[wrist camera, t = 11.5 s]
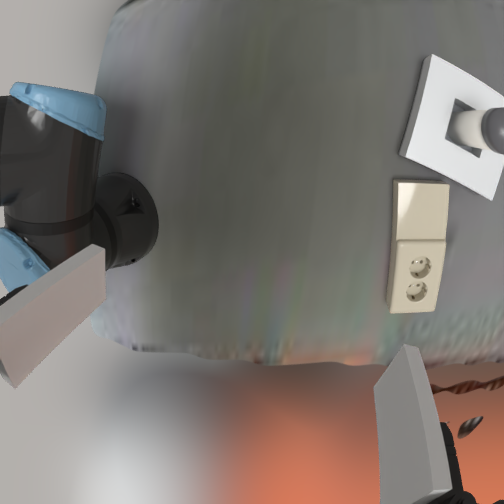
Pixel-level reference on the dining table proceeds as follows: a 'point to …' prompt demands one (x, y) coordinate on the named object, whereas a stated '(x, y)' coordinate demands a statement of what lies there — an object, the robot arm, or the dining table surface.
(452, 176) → the socket block
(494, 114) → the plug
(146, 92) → the dining table surface
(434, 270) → the electrical outlet
